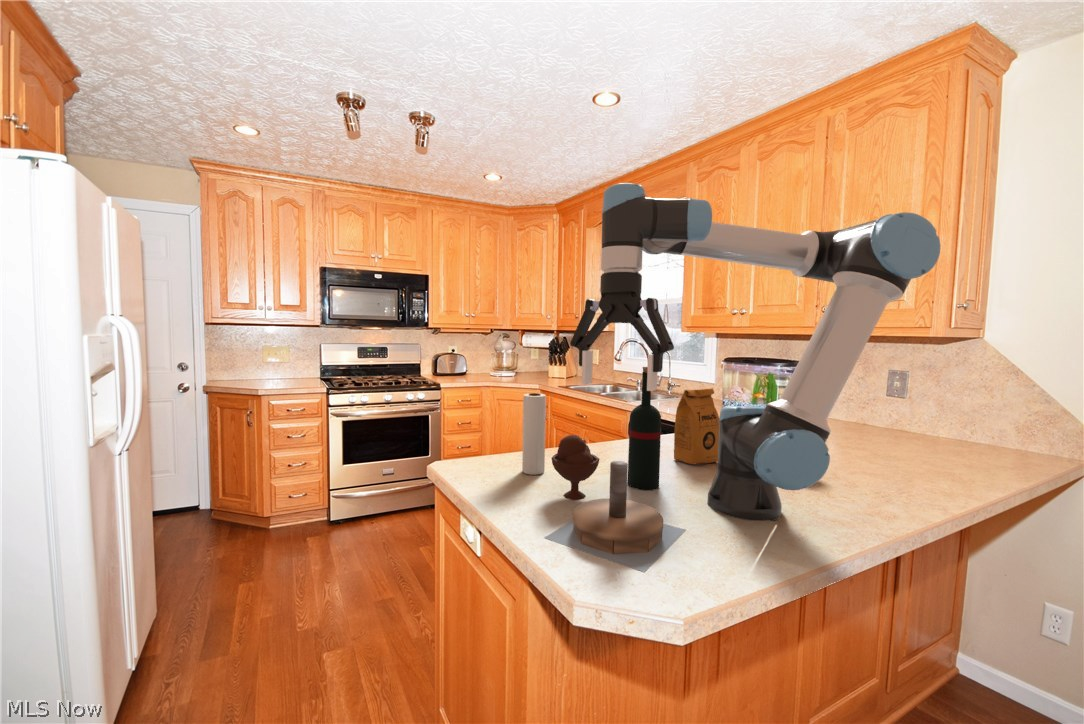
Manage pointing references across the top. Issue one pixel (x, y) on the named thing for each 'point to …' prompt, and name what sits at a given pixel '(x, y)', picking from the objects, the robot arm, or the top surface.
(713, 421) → the coffee package
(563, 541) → the mat
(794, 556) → the top surface
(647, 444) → the wine bottle
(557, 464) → the ice cream bowl
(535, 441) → the paper towel roll
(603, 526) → the lid
